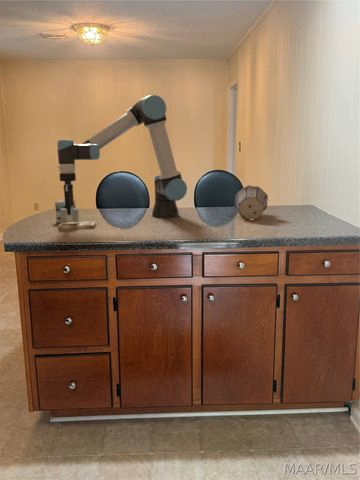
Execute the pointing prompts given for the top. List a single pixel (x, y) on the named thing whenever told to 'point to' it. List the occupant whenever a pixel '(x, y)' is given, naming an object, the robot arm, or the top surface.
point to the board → (77, 225)
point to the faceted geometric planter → (251, 202)
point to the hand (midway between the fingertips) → (70, 220)
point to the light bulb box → (58, 207)
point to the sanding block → (74, 215)
